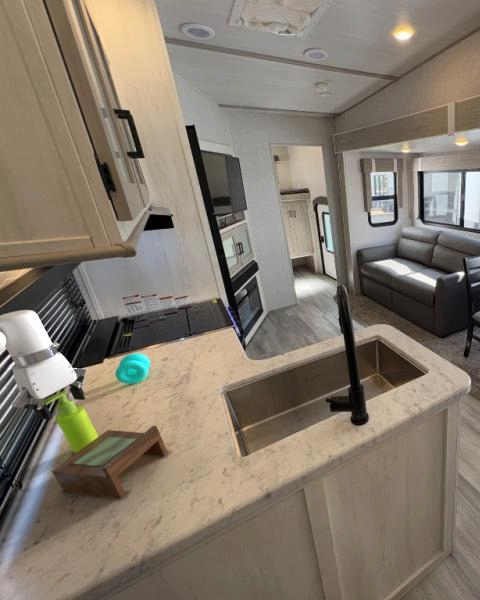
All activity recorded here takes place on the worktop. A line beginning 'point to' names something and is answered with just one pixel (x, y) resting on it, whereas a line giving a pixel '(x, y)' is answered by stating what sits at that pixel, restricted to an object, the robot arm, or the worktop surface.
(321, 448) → the worktop surface
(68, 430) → the soap dispenser
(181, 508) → the worktop surface
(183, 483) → the worktop surface
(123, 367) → the turquoise spool
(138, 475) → the worktop surface
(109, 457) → the wooden picture frame
